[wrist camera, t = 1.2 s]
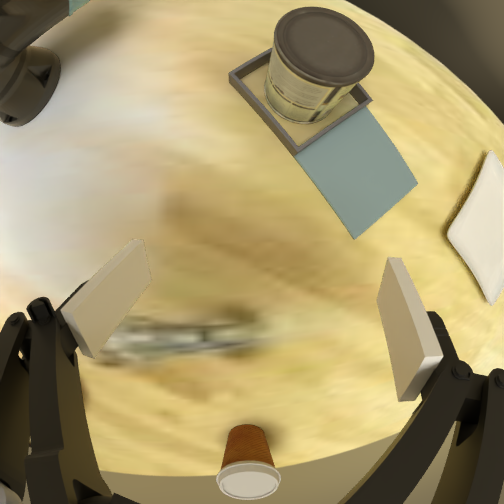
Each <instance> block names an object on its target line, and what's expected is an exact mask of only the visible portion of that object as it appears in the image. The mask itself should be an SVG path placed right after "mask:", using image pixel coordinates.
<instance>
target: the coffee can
mask: <svg viewBox="0 0 504 504" xmlns="http://www.w3.org/2000/svg"><path fill="white" fill-rule="evenodd" d="M373 64H374V50H373V46H372V43H371V41H370V39H369V38H368V36H367V35H366V33H365V32H364V31H363V30H362V29H361V28H360V27H359V26H358V25H357V24H356V23H355V22H354V21H353V20H351V19H350V18H348V17H346V16H345V15H343V14H341V13H338V12H336V11H333V10H330V9H326V8H321V7H302V8H298V9H295V10H292V11H290V12H288V13H287V14H285V15H284V16H283V17H282V18H281V19H280V20H279V21H278V23H277V25H276V28H275V32H274V43H273V48H272V53H271V57H270V62H269V68H268V72H267V78H266V81H265V85H264V93H265V97H266V100H267V102H268V104H269V106H270V107H271V108H272V109H273V111H274V112H275V113H277V114H278V115H279V116H281V117H282V118H284V119H286V120H288V121H291V122H294V123H299V124H310V123H315V122H318V121H320V120H322V119H323V118H325V117H326V116H327V115H328V114H329V113H330V112H331V110H332V109H333V108H334V107H335V106H336V105H337V104H338V103H339V102H340V100H341V99H342V98H343V97H344V96H345V95H346V94H347V93H348V92H349V91H350V90H351V89H352V88H353V87H354V86H355V85H356V84H357V83H358V82H359V81H360V80H362V79H363V78H364V77H366V76H367V75H368V74H369V72H370V71H371V69H372V67H373Z"/></svg>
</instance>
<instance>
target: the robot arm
mask: <svg viewBox="0 0 504 504" xmlns="http://www.w3.org/2000/svg"><path fill="white" fill-rule="evenodd" d="M89 1H90V0H0V121H1V122H3V123H5V124H7V125H10V126H15V127H16V126H21V125H24V124H26V123H28V122H29V121H30V120H32V119H33V118H34V117H35V116H36V115H37V114H38V113H39V112H40V111H41V110H42V109H43V107H44V106H45V105H46V103H47V102H48V100H49V99H50V97H51V95H52V94H53V92H54V90H55V87H56V85H57V82H58V79H59V75H60V61H59V58H58V57H57V55H55V54H54V53H53V52H52V51H50V50H49V49H46V48H42V47H35V46H29V45H30V44H32V43H33V42H34V41H35V40H36V39H38V38H39V37H40V36H41V35H43V34H44V33H45V32H46V31H48V30H49V29H50V28H52V27H53V26H54V25H56V24H57V23H59V22H60V21H61V20H63V19H64V18H66V17H67V16H71V15H72V14H73V12H75V11H76V10H77V9H79V8H80V7H82V6H83V5H85V4H86V3H88V2H89ZM151 281H152V278H151V273H150V269H149V264H148V260H147V255H146V250H145V245H144V240H139V239H132V240H131V241H130V242H129V243H128V244H126V245H125V246H124V247H123V248H122V249H121V250H120V251H119V252H118V253H117V254H116V255H115V256H114V257H113V258H111V259H110V260H109V261H108V262H107V263H106V264H105V265H104V266H103V267H102V268H101V269H100V270H99V271H98V272H97V273H96V274H95V275H94V276H93V277H92V278H91V279H90V280H88V281H86V282H84V283H83V284H81V285H80V286H79V287H78V288H77V289H76V290H75V292H73V293H72V294H71V295H70V297H68V298H67V299H66V300H65V301H64V302H63V303H62V304H61V306H60V307H59V308H58V309H57V310H56V311H54V309H53V307H52V305H51V302H50V300H49V299H48V298H47V297H40V298H37V299H35V300H33V301H32V302H31V303H30V304H29V305H28V306H27V309H26V310H27V312H28V314H29V316H30V317H31V319H32V320H27V318H26V316H25V315H24V313H22V312H17V313H13V314H12V315H11V316H10V317H9V318H8V319H7V320H6V322H5V324H4V326H3V328H2V330H1V332H0V504H22V501H23V497H24V492H25V485H26V481H27V486H28V491H29V497H30V501H31V504H139V503H137V502H134V501H132V500H130V499H127V498H125V497H123V496H120V495H118V494H116V493H114V494H113V496H112V494H111V491H110V489H109V488H108V486H107V484H106V483H105V482H104V480H103V479H102V477H101V475H100V472H99V468H98V465H97V461H96V458H95V454H94V450H93V446H92V442H91V438H90V434H89V429H88V424H87V420H86V414H85V409H84V403H83V397H82V391H81V384H80V377H79V368H78V359H77V354H76V352H75V349H76V348H77V347H79V348H80V350H81V352H82V354H83V355H85V356H88V357H91V358H94V359H95V357H96V356H97V354H98V353H99V352H100V350H101V349H102V347H103V346H104V344H105V343H106V342H107V340H108V339H109V337H110V336H111V335H112V333H113V332H114V330H115V329H116V328H117V326H118V325H119V324H120V322H121V321H122V319H123V318H124V317H125V315H126V314H127V313H128V311H129V310H130V309H131V307H132V306H133V305H134V303H135V302H136V301H137V299H138V298H139V297H140V295H141V294H142V293H143V292H144V290H145V289H146V288H147V286H148V285H149V284H150V283H151ZM377 304H378V308H379V312H380V316H381V320H382V324H383V328H384V332H385V337H386V341H387V345H388V350H389V355H390V359H391V364H392V370H393V375H394V380H395V386H396V392H397V398H398V402H402V401H415V400H416V398H417V397H418V395H419V394H420V392H421V396H422V401H421V403H420V404H419V406H418V407H417V408H416V409H415V411H414V412H413V413H412V414H413V415H412V416H411V418H410V419H409V421H408V422H407V424H406V425H405V426H404V428H403V429H402V430H401V432H400V433H399V435H398V436H397V437H396V439H395V440H394V441H393V443H392V444H391V445H390V446H389V448H388V449H387V450H386V451H385V453H384V454H383V455H382V456H381V458H380V459H379V460H378V461H377V462H376V463H375V465H374V466H373V467H372V468H371V469H370V471H369V472H368V473H367V474H366V475H365V476H364V477H363V478H362V479H361V480H360V481H359V483H358V484H357V485H356V486H355V487H354V488H353V489H352V490H351V491H350V492H349V493H348V494H347V495H346V496H345V497H344V498H343V499H342V500H341V501H340V502H339V503H338V504H403V502H404V501H405V500H406V498H407V497H408V496H409V495H410V493H411V492H412V491H413V489H414V488H415V486H416V485H417V484H418V482H419V480H420V479H421V478H422V476H423V475H424V473H425V472H426V470H427V469H428V467H429V466H430V464H431V463H432V461H433V459H434V458H435V456H436V454H437V453H438V451H439V449H440V448H441V446H442V444H443V442H444V440H445V438H446V437H447V435H448V433H449V431H450V429H451V427H452V425H453V424H454V421H457V422H456V427H455V431H454V435H453V440H452V443H451V447H450V450H449V454H448V457H447V461H446V464H445V467H444V470H443V473H442V476H441V479H440V482H439V484H438V487H437V490H436V492H435V495H434V497H433V500H432V503H431V504H498V501H499V498H500V493H501V490H502V485H503V481H504V370H503V369H499V368H496V369H493V370H492V371H491V372H490V374H489V375H488V376H484V375H479V374H475V373H473V371H472V369H471V367H470V366H469V365H468V364H467V363H466V362H464V361H461V360H459V358H458V356H457V353H456V351H455V348H454V346H453V343H452V341H451V338H450V336H449V334H448V331H447V329H446V327H445V325H444V322H443V320H442V319H441V317H440V316H439V315H438V314H437V313H436V312H433V311H426V310H425V308H424V305H423V303H422V301H421V299H420V296H419V294H418V292H417V290H416V288H415V285H414V283H413V281H412V279H411V277H410V275H409V273H408V271H407V269H406V267H405V265H404V263H403V261H402V259H401V258H394V257H388V258H387V262H386V266H385V270H384V274H383V278H382V282H381V286H380V290H379V293H378V297H377ZM19 350H20V352H21V353H22V355H23V357H22V359H21V358H20V357H19V356H18V354H19ZM30 438H31V448H32V453H31V455H28V448H29V440H30Z"/></svg>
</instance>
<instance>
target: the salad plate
mask: <svg viewBox="0 0 504 504" xmlns="http://www.w3.org/2000/svg"><path fill="white" fill-rule="evenodd" d="M447 238H448V240H449V241H450V242H451V244H452V245H453V246H454V248H455V249H456V250H457V252H458V253H459V254H460V256H461V257H462V258H463V260H464V261H465V262H466V264H467V265H468V267H469V268H470V270H471V271H472V273H473V275H474V276H475V278H476V280H477V281H478V283H479V285H480V287H481V289H482V291H483V293H484V296H485V298H486V300H487V301H488V303H489V304H490V305H491V306H493V305H494V303H495V302H496V300H497V299H498V297H499V295H500V294H501V292H502V290H503V288H504V168H503V166H502V164H501V162H500V161H499V159H498V157H497V156H496V154H495V153H494V152H493V151H492V150H490V151H489V152H488V153H487V155H486V157H485V160H484V162H483V165H482V168H481V170H480V173H479V175H478V177H477V180H476V182H475V184H474V186H473V188H472V190H471V192H470V194H469V196H468V198H467V200H466V201H465V203H464V205H463V206H462V208H461V210H460V211H459V213H458V215H457V216H456V218H455V219H454V221H453V222H452V224H451V225H450V227H449V229H448V231H447Z"/></svg>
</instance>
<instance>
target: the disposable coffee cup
mask: <svg viewBox="0 0 504 504" xmlns="http://www.w3.org/2000/svg"><path fill="white" fill-rule="evenodd" d="M216 481H217V484H218V485H219V487H220V489H221V491H222V492H223V493H224V494H226V495H228V496H230V497H233V498H237V499H244V500H252V499H259V498H263V497H266V496H268V495H270V494H272V493H274V492H275V491H276V490H277V488H278V485H279V483H280V481H281V476H280V474H279V472H278V471H277V470H276V468H275V465H274V462H273V460H272V457H271V453H270V450H269V447H268V444H267V441H266V438H265V435H264V432H263V430H262V429H260V428H259V427H257V426H254V425H240V426H237V427H235V428H233V429H232V430H231V431H230V433H229V436H228V441H227V445H226V449H225V453H224V458H223V462H222V466H221V470H220V472H219V473H218V474H217V478H216Z"/></svg>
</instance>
